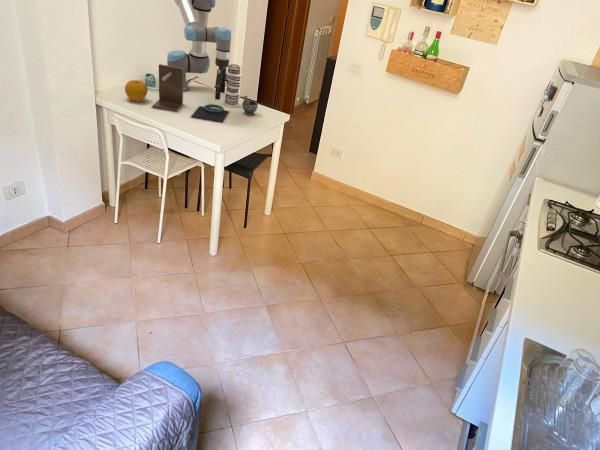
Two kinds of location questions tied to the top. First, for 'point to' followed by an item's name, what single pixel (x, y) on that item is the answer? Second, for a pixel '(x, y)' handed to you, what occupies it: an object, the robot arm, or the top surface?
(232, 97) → the decorative candle
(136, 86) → the apple
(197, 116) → the mat
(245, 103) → the mortar and pestle
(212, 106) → the ring
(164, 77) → the hook board
